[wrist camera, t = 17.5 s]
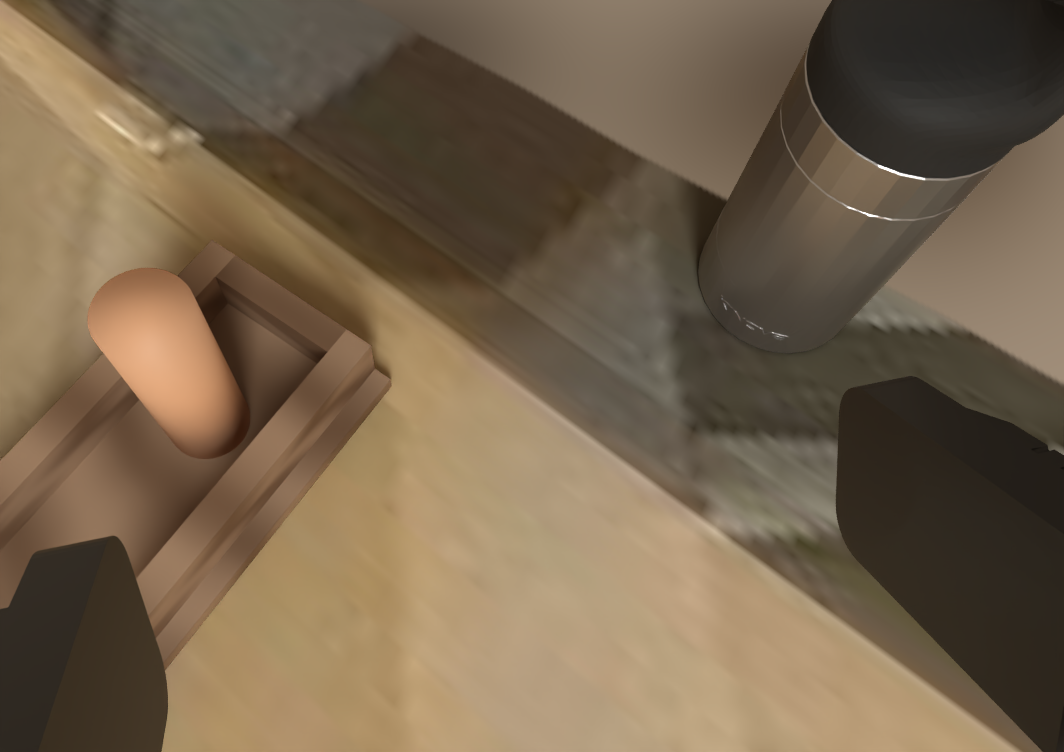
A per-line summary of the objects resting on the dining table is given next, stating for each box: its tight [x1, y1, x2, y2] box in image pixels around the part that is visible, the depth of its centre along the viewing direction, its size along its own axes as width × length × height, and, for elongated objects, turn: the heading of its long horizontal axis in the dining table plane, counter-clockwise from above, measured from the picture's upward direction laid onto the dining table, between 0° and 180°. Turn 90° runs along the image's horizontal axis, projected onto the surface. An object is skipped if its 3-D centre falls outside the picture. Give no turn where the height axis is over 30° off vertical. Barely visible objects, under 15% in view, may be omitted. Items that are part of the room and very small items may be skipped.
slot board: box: [0, 240, 391, 670], centre depth 45 cm, size 20×12×4 cm, turn 147°
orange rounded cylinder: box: [88, 268, 250, 459], centre depth 42 cm, size 4×4×12 cm
